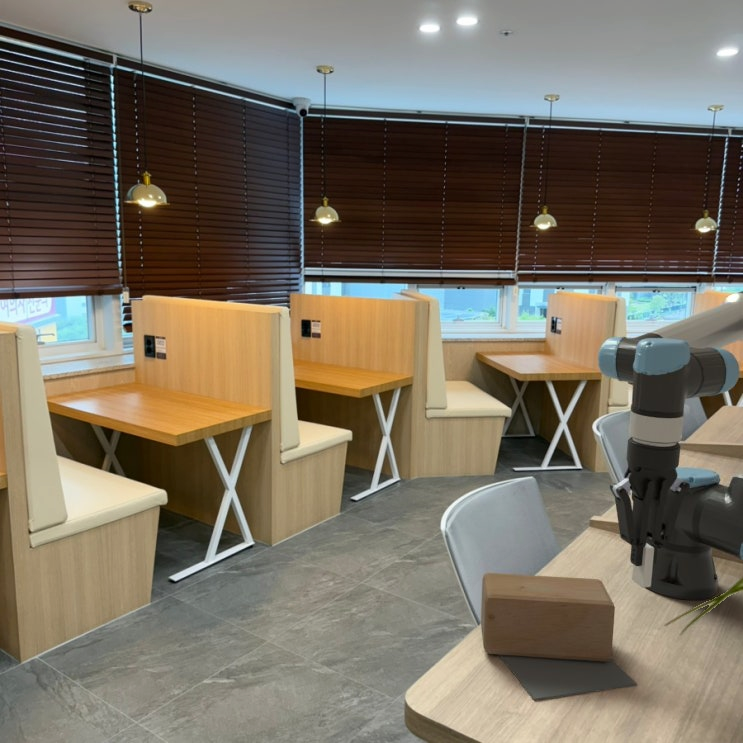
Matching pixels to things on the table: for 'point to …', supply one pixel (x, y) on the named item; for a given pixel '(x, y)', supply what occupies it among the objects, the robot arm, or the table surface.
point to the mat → (565, 675)
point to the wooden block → (546, 617)
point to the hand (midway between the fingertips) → (641, 583)
